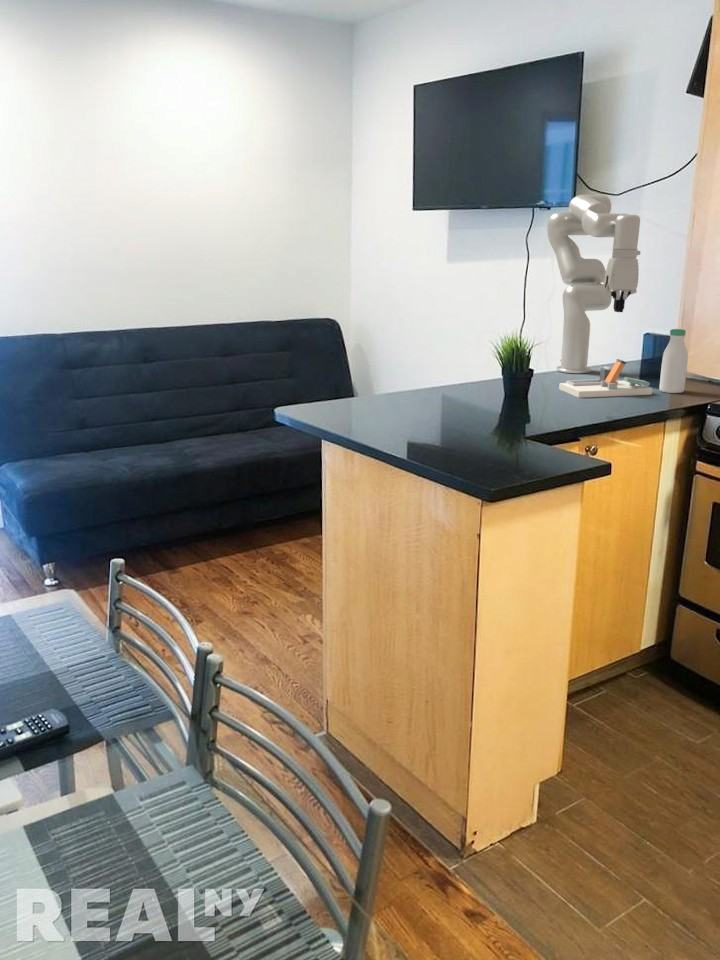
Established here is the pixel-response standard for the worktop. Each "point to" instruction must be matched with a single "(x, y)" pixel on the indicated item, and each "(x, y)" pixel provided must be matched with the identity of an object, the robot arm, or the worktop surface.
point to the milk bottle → (674, 363)
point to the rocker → (636, 381)
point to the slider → (604, 373)
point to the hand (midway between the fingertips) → (618, 311)
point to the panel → (603, 388)
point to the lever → (615, 371)
